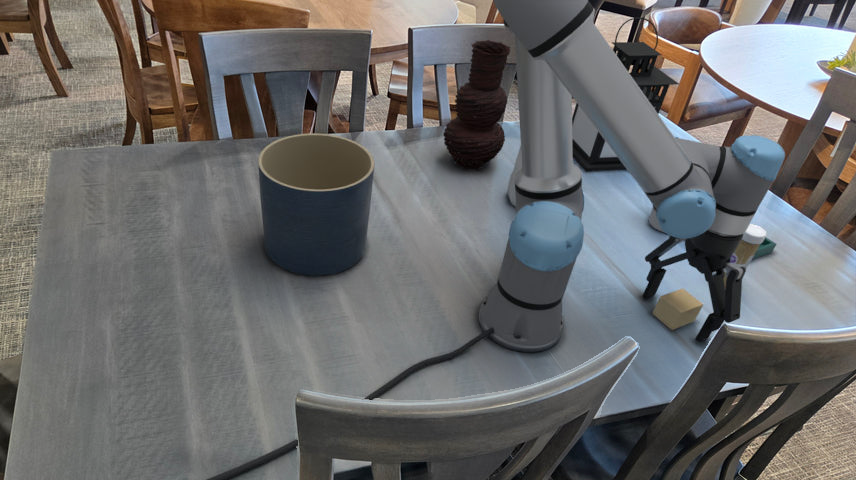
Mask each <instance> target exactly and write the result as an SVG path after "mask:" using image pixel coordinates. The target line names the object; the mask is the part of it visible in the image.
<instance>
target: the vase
mask: <svg viewBox="0 0 856 480" xmlns="http://www.w3.org/2000/svg"><path fill="white" fill-rule="evenodd" d="M470 46H471V48H472V49H471V52H472V54H471V59H470V62H471V64H470V69H469V71H470V73H468V76H469V77H468V81H469V82H465V83H464V85H461V86H459V89H458V90H456V95H455V98H456V99H454V103H455V104H454V107H455V112H456V116H455V118H453V119H450V120H449V122H447V123H446V124H445V127H446V128H444V131H443V134H442V135H443V137H444V138H443V142H444V146H445V147H446V150H447V151H448V154H449V155H451V158H452V160H453V162H454V163H455V164H456V166H457V167H460V168H462V169H464V170H473V171H475V170H479V169H481V168H483V167H485V165H486V164H487V163H489V162H490V161H492V160H493V159H495V157H497V155H498V154H499V153H500V152H501V151H502V149H503V147H504V144H505V141H506V135H505V131H504V128H503V126H501V124H500V123H499V122H500V120H501V119H502V118H503V115H504V113H505V111H506V106H507V104H508V97H507V94H506V91H505V90H504V89H503V87H502V86H501V84H502V80H503V77H504V76H503V75H504V74H503V73H504V70H505V68H506V65H507V60H508V56H509V55H510V53H511V46H508V45H506V44H504V43H503V42H502V41H501V42H500V41H499V42H498V41H493V40H489V39H487V40H476V41H475V42H474V43H471V45H470Z"/></svg>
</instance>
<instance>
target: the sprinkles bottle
mask: <svg viewBox="0 0 856 480" xmlns="http://www.w3.org/2000/svg"><path fill="white" fill-rule="evenodd" d="M767 234H768V233H767V231H766V230H765V228H763V227H761V226H759V225H758V224H757V225H756V224H753V223H750V224H749V226H748V228H747V230H746V231H745V232H744V233H743V237H742V239H741V241H740V243H739V245H738V246H737V248H736V250H735V252H734V253H733V254H732V256H731V263H732V264H733V265H735V266H737V267H744V268H745V269H746V270H747V268H748V267H749V265H750V264H751V262H752V260H753V259H752V258H753V256H754V255H755V252H756V251H757V249H758V247H759V246H760V244H761V243H762V242H763V241H764V239H765V237H766V238H767ZM724 274H725V275H726V274H727V271H726V269H724ZM726 280H727V277H726V276H725V277H724V285H725V289H726Z"/></svg>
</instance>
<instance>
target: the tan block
mask: <svg viewBox="0 0 856 480" xmlns="http://www.w3.org/2000/svg"><path fill="white" fill-rule="evenodd" d="M703 307H704V303H703V302H701V301H700V300H699V299H698V298H696V297H695V296H694V295H692V294H691V293H689V291H687V290H686V289H685V288H680V289H677V290H674V291H672V292H669V293H666V294H662V295H660V297H659V298H658V301H657V303H656V305H655V307H654V308H653V311H652V315H653V316H655V317H656V318H657V319H658V320H659V321H660V322H662V323H663V324H664V325H665V326H666V327H667V328H669V329H670V330H672V331H673V330H676V329H679V328H682V327H684V326H686V325H689V324H692V323H694V322H695V321H696V319H697V317H698V315H699V314H700V312H701V310H702V308H703Z"/></svg>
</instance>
